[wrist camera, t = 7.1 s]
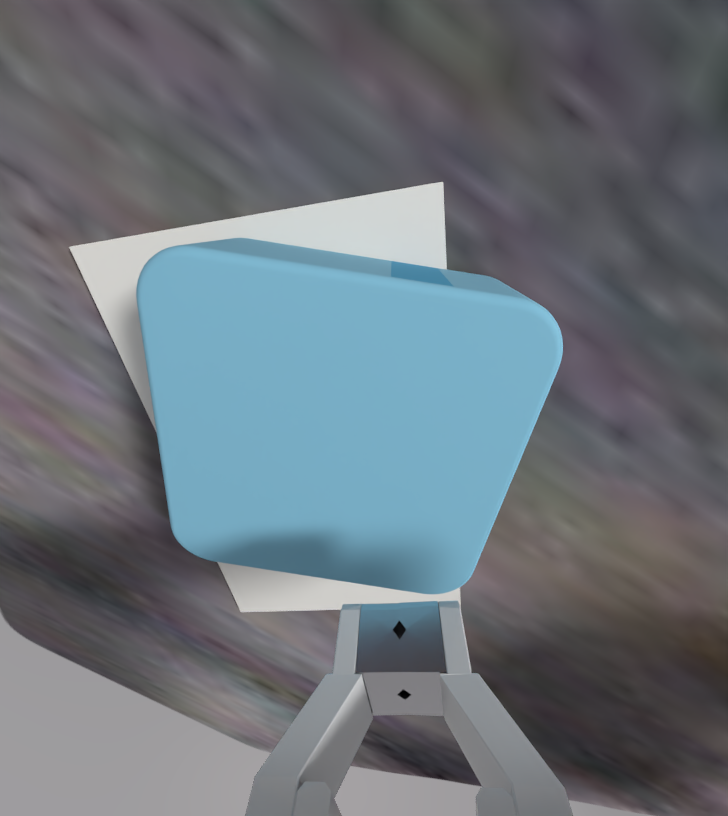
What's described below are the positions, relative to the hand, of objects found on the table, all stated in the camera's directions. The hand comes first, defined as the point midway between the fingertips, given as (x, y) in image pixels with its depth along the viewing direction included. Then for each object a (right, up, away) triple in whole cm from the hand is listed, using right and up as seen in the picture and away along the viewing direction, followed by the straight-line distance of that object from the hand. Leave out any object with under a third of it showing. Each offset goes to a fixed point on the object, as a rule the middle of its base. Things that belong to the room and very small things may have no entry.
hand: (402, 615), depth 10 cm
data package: (+4, +4, +5) cm, 7 cm away
